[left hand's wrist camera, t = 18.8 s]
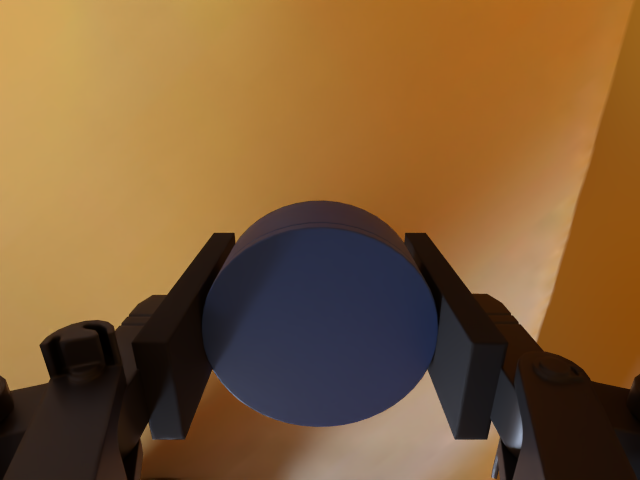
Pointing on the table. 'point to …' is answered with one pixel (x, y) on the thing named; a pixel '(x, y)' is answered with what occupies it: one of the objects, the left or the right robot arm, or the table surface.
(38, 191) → the table surface
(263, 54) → the table surface
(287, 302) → the lid
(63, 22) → the table surface
